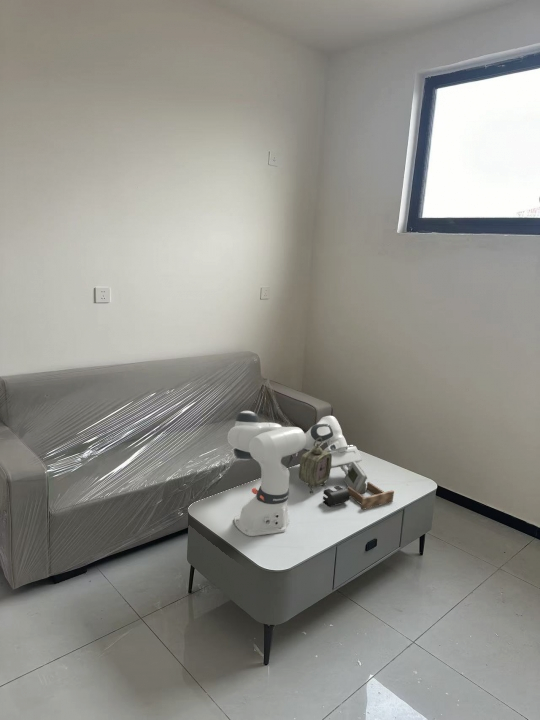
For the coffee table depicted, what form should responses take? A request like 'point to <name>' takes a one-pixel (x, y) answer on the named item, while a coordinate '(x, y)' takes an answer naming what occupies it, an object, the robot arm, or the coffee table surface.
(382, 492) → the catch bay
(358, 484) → the digital clock
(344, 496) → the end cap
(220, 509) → the coffee table surface
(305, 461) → the tabletop clock
